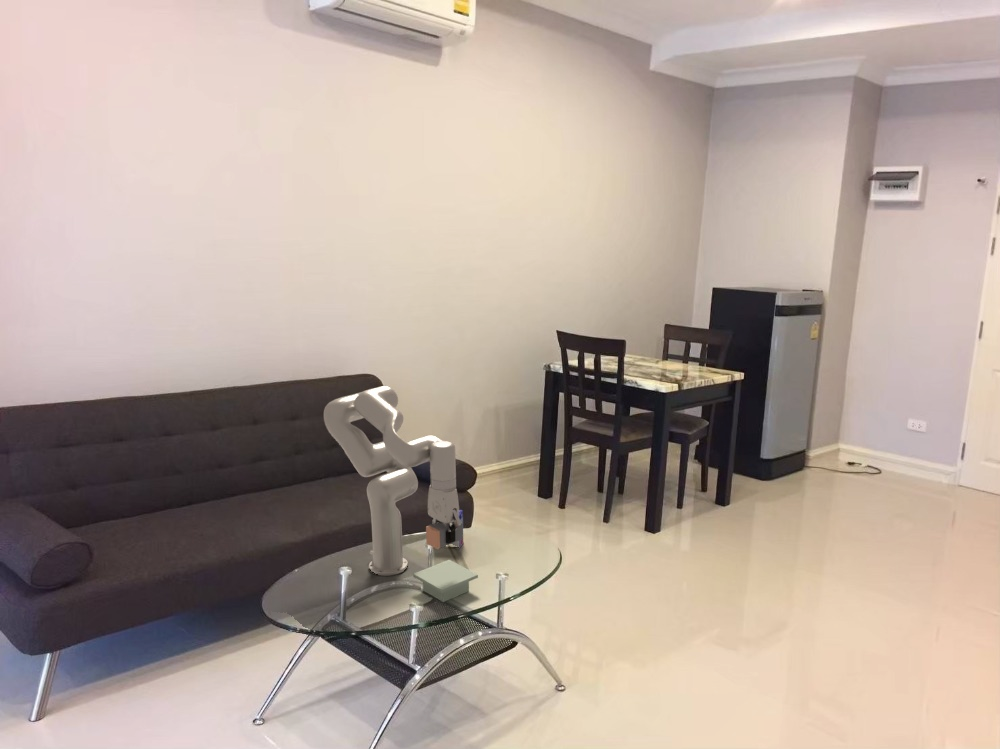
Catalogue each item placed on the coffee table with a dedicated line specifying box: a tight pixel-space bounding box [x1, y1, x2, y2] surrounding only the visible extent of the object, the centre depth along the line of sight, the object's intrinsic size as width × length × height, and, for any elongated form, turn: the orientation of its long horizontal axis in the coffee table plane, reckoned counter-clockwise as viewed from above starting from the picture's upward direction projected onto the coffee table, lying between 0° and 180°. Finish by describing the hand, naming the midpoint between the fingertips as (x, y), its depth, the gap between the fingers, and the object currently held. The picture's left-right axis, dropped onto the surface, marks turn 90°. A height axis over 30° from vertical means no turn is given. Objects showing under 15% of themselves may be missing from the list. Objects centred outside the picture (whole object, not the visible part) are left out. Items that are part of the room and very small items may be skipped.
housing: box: [425, 521, 464, 550], centre depth 243 cm, size 10×5×6 cm, turn 132°
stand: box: [413, 559, 479, 603], centre depth 246 cm, size 14×14×6 cm
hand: (444, 538), depth 243 cm, fingers closed on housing, 5 cm apart
